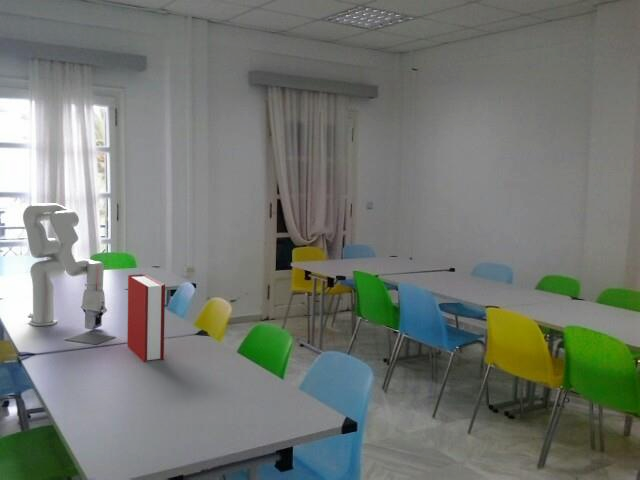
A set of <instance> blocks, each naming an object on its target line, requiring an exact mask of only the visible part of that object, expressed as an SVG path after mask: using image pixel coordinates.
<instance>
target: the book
mask: <svg viewBox="0 0 640 480" xmlns="http://www.w3.org/2000/svg"><path fill="white" fill-rule="evenodd" d="M127 278H128V279H127V281H128V282H127V341H126V342H127V347H128V348H129V350H131V351H132V352H133V353H134V354H135V355H136V356H137V357H138V358H139V359H140V360H142V362H144V363H146V362H147V361H150V360H158V359H159V360H163V361H164V360H165V359H164V357H165V315H166V314H165V311H166V310H165V308H166V307H165V305H166V304H165V301H166V284H165V283H163V282H161V281H160V280H158V279H155V278H154V277H152V276H149V275H148V274H143V273H141V274H130V275H127Z"/></svg>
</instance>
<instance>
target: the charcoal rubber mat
mask: <svg viewBox="0 0 640 480" xmlns="http://www.w3.org/2000/svg"><path fill="white" fill-rule="evenodd" d="M116 338H117V336H113V335H107V334H106V335H105V334H99V333H92V332H83V333H81V334H78V335H74V336H71V337H68V338H65V339H64V341H66V342H73V341H74V342H75V343H79V342H81V343H80V344H86V343H87V345H94V346H97V345H100V344H102V343H105V342H108V341H110V340H114V339H116Z"/></svg>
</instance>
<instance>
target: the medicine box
mask: <svg viewBox="0 0 640 480" xmlns="http://www.w3.org/2000/svg"><path fill="white" fill-rule="evenodd" d="M96 317H97V315H96V311H90V310H88V311H85V313H84V329H86V330H95V329H97V328H100V327H102V324H103V323H102V321H103V320H102V319H103V315H102V316H101V324H99V325H95V322H96Z"/></svg>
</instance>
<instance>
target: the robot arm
mask: <svg viewBox="0 0 640 480" xmlns="http://www.w3.org/2000/svg"><path fill="white" fill-rule="evenodd" d="M22 221H23V224H24V228H25V230H26V234H27V242H28V246H29V251H30V254H31V257H33V258H35V259H44V260H40V261H37V262H34V263H33V264H32V266H31V267H30V276H31V277H30V278H31V283H32V312H31V313H29V314H28V315H27V318H28V319H31V320H30V321H29V325H30V326H35V327H45V326H52V325H56V324H57V323H58V319H56V318H55V315H54V314H55V307H54V306H55V305H54V304H55V291H54V284H53V282H52V280H51V279H56V278H59V277H62V276H63V275H64V274H65V272H66V273H67V274H68V275H69V276H70V277H78V276H85V275H86V283H84V286H85V289H84V292H83V296H82V301H81V302H82V303H81V306H80V309H81V310H82V311H83V313H84V314H85V311H88V310H90V311H96V315H97V317H96V322H95V325H99V324H101V316H102V317H103V315H104V314H105V313H107V312H108V309H107V308H106V298H105V290H104V267H105V266H104V263H103V262H102V261H99V260H92V259H88V258H83V259H82V258H81V259H75V257H74V254H73V251H72V248H73V246H74V244H76V243H77V242H78V241H79V236H78V233H77V232H76V229H75V227H77V226H78V224H79V222H80V220H79V216H78V214H77V213H76V212H75V211H73V210H72V209H69V208H67V207H65V206H63V205H60V204H58V203H53V202H50V203H49V202H48V203H44V202H43V203H32V204H30V205H28V206H27V207H26V208H25V209H24V211H23V215H22ZM42 221H50V224H51V226H52V228H53V231H54V232H55V233H54V234H56V237H57V238H54V237H48V236H47V231H46V227H45V226H44V225H43V223H41V222H42Z"/></svg>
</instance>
